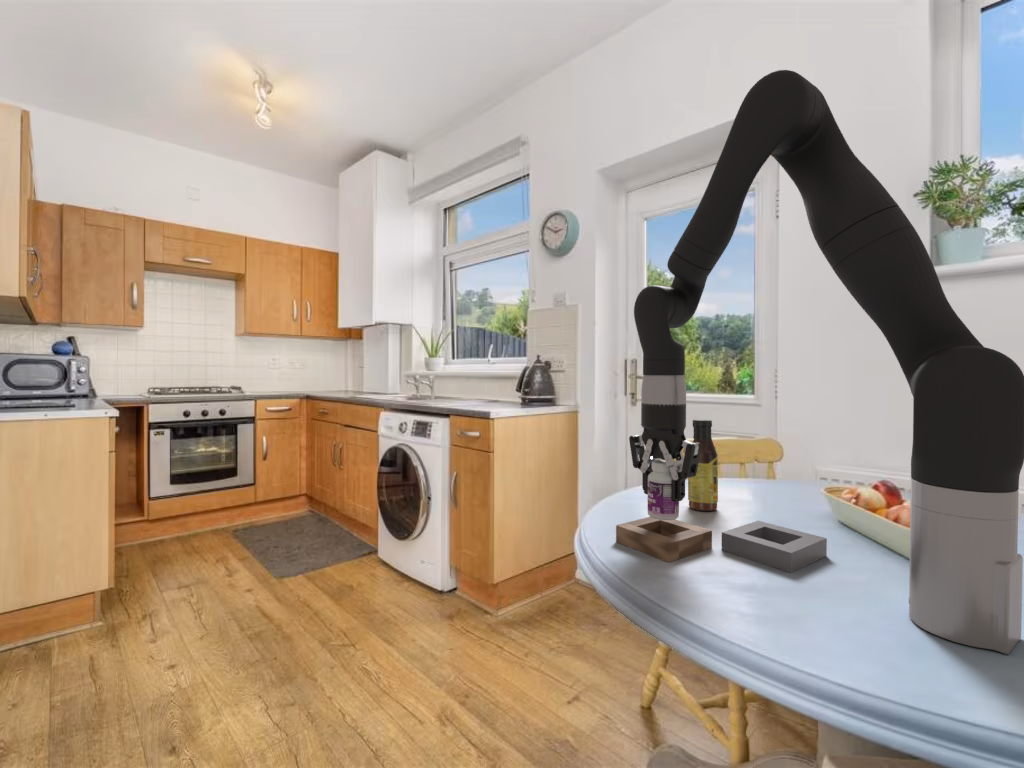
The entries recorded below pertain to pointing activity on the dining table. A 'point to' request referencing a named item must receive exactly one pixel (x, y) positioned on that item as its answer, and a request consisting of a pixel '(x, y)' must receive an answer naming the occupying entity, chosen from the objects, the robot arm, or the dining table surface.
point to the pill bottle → (661, 493)
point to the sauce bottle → (704, 470)
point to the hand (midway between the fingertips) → (662, 496)
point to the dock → (664, 538)
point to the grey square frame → (774, 545)
